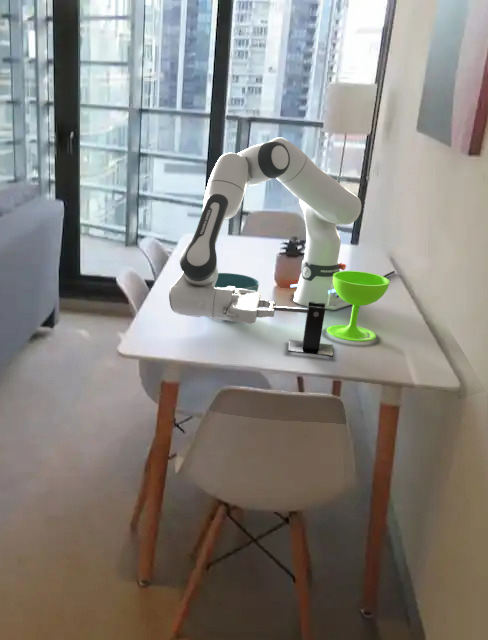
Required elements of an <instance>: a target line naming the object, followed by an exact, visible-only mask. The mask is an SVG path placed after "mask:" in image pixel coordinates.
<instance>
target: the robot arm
mask: <svg viewBox="0 0 488 640" xmlns="http://www.w3.org/2000/svg"><path fill="white" fill-rule="evenodd" d="M214 165H215V166H214V167H213V169H212V171H211V174H210V177H209V179H208V182H207V186H206V189H205V193H204V198H203V206H202V212H201V214H200V219H199V220H198V224H197V227H196V229H195V232H194V235H193V237H192V239H191V240H190V241H189V242H188V243H187V245H186V246H185V247H184V248H183V250H182V252H181V253H180V257H179V266H180V269H181V271H182V272H181V275H180V276H179V277H178V279H177V280H176V281H175V282H174V284H172V285H171V286H170V287H169V291H168V298H169V299H168V301H169V306H170V308H171V309H170V310H172V312H173V313H175V314H177V315H181V316H185V317H186V316H187V317H193V318H203V317H205V318H209V319H213V320H220V321H232V322H235V323H241V324H248V325H253V324H256V322H257V318H259V319H260V318H274V317H275V312H276V311H275V310H274V309H269V306H270V303H274V304H275V306H277V302H276V301H271V300H268V299H265V298H261V297H262V296H261V295H262V294H261V292H258V290H257V291H252V290H245V289H236V290H235V287H234V286H228V287H226V288H215V284H216V281H217V279H218V273H219V269H218V259H217V257H218V256H217V251H216V245H217V241H218V238H219V235H220V232H221V229H222V226H223V223H224V221H226V220H230V219H231V218H233V217H235V216H236V215H237V214H238V212H239V209H240V207H241V205H242V203H243V199H244V196H245V193H246V189H247V187H252V186H257V185H260V184H264V183H266V182H268V181H271V180H272V179H273V180H274V179H276V180H277V181H278V182H279V183H281V184H282V186H284V187H285V188H286V189H287V190H288V191H289V192H290V193H291V194H292V195H293V196H294V197H295V198H297V199H298V202H299V206H300V208H301V210H302V212H303V216H304V224H305V231H306V233H305V234H306V235H305V236H306V242H305V248H304V255H303V256H304V257H303V260H302V262H301V267H300V271H301V273H300V275H299V279H298V282H297V283H295V284H290V288H296V291H294V294H293V302H295V303H296V304H298V305H300V306H303V307H306V308H308V304H309V302H317V303H325V310H331V311H336V310H339V309H342V308H345V307H348V306H351V305H352V304H349V303H347V302H345V301H344V300H343V299H341V298H340V297H339V296H338V294H337V293H336V291H335V289H334V285H333V274H334V273H336V272H340V271H346V268H347V264H345V263H342V262H340V263H338V262H339V258H340V257H339V256H340V250H341V243H342V241H341V237H340V235H339V233H338V230H337V226H338V225H342V226H345V225H346V226H347V225H350V224H353V223H354V222H355V221H357V220H358V218H359V216H360V214H361V213H362V212H361V211H362V201H361V199H360V198H359V197H358V195H356V194H354V193H353V192H351V190H349V189H347V187H345V186H344V185H342V184H341V183H340V182H339V181H337V180H336V179H335V178H334V177H332V176H330V175H329V174H328V173H326V172H325V171H324V170H322V169H321V168H320V167H319V166H318V165H317V164H316V163H315V162H314V161H313V160H312V159H311V158H310V157H309V156H308V155H307V154H306V153H305V152H304V151H303V150H301V149H300V148H299V147H298V146H297V145H295V144H294V143H292V142H291V141H289V140H288V139H286V138H284V137H276V138H273V139H271V140H269V141H266V142H263V143H260V144H255V145H253V146H249V147H248V148H246V149H244V150H242V151H240V152H236V153H235V152H228V153H227V152H226V153H224V154H222V155H221V156H220V157H219V158H218V159H217V162H216V163H215V164H214ZM395 273H396V271H395V270H392V271H390V272H388V273H386V274H384V275H382V276H383V277H385V278H387V277H389V276H391V275H392V274H395ZM264 308H267V309H264Z"/></svg>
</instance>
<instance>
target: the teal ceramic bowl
mask: <svg viewBox="0 0 488 640" xmlns="http://www.w3.org/2000/svg"><path fill="white" fill-rule="evenodd" d="M228 286H234V287H235V290H236V289H245V290H252V291H257V292H258V291H259V286H260V282H259V280H258V279H257V278H255V277H251V276H249V275H244V274H240V273H239V274H238V273H232V272H231V273H230V272H218V279H217V281H216V284H215V288H226V287H228Z"/></svg>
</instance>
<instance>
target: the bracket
mask: <svg viewBox="0 0 488 640" xmlns="http://www.w3.org/2000/svg"><path fill="white" fill-rule="evenodd" d="M315 306H322V307H315ZM307 308H308V313H306V317H305V325H304V331H303V332H304V333H303V339H302V340H294V339H289V340H288V341H289V342H288V348H287V349H288V352H290V353H291V352H292V353H300V354H309V355H315V356H325V357H333V356H334V354H333V353H334V351H333V344H329V343H321V338H322V332H323V325H324V319H325V313H326V309H325V303H317V302H309V304H308V307H307Z"/></svg>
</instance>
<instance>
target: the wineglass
mask: <svg viewBox="0 0 488 640" xmlns="http://www.w3.org/2000/svg"><path fill="white" fill-rule="evenodd" d="M383 276H384V275H380V274H377V273H372V272H366V271H358V270H340V272H336V273H334V274H333V285H334V289H335V291H336V293H337V294H338V296H339V297H340V298H341V299H343V300H344V301H345V302H347V303H349V304H351V305H352V307H351V314H350V320H349V324H335V325H330V326H328V327H327V328H326V332H327V333H328V334H329V335H330V336H333V337H334V338H336V339H340V340H344V341H350V342H369V341H370V342H371V341H373V340H375V339H376V338H377V334H376V333H375V332H374V331H372V330H370V329H368V328H366V327H365V328H364V327H361V326H358V325H357V324H358V323H357V322H358V317H359V311H360V307H361V306H369V305H372V304H373V303H377V301H378V300H380V299H381V298H382V297H383V296H384V295H385V294H386V292H387V290H388V289H389V286H390V283H391V281H390V279H388V278H387V277H383Z"/></svg>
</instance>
